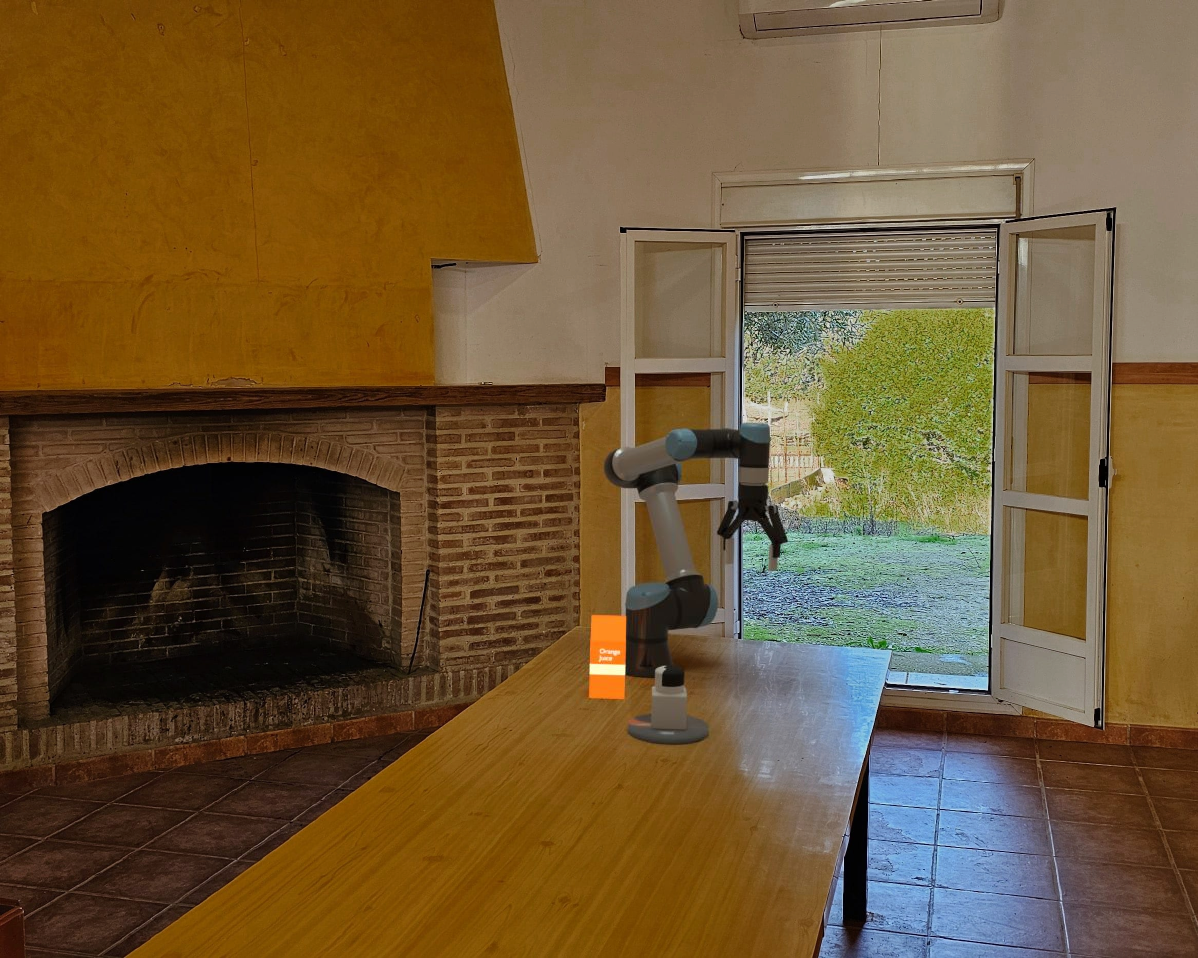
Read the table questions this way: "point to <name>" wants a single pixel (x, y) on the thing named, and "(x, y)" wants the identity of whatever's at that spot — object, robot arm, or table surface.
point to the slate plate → (667, 731)
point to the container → (669, 699)
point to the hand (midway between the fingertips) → (750, 567)
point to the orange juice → (607, 657)
